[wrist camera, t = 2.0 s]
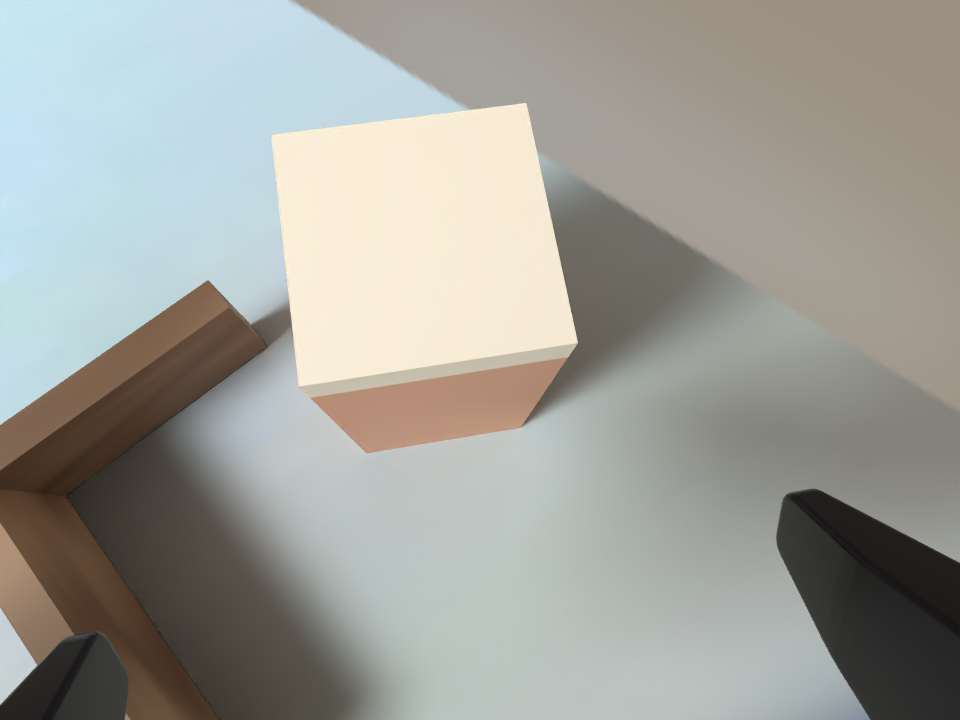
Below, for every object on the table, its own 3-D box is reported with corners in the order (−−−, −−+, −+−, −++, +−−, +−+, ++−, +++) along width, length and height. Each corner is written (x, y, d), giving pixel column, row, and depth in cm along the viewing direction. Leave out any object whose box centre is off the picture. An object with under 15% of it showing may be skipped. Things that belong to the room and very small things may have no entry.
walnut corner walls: (472, 606, 20) (477, 624, 17) (236, 815, 19) (181, 888, 15) (249, 323, 22) (207, 280, 18) (18, 491, 21) (-82, 481, 17)
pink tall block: (520, 427, 22) (578, 342, 12) (366, 453, 21) (299, 386, 12) (493, 284, 23) (526, 103, 13) (347, 305, 23) (270, 135, 13)
